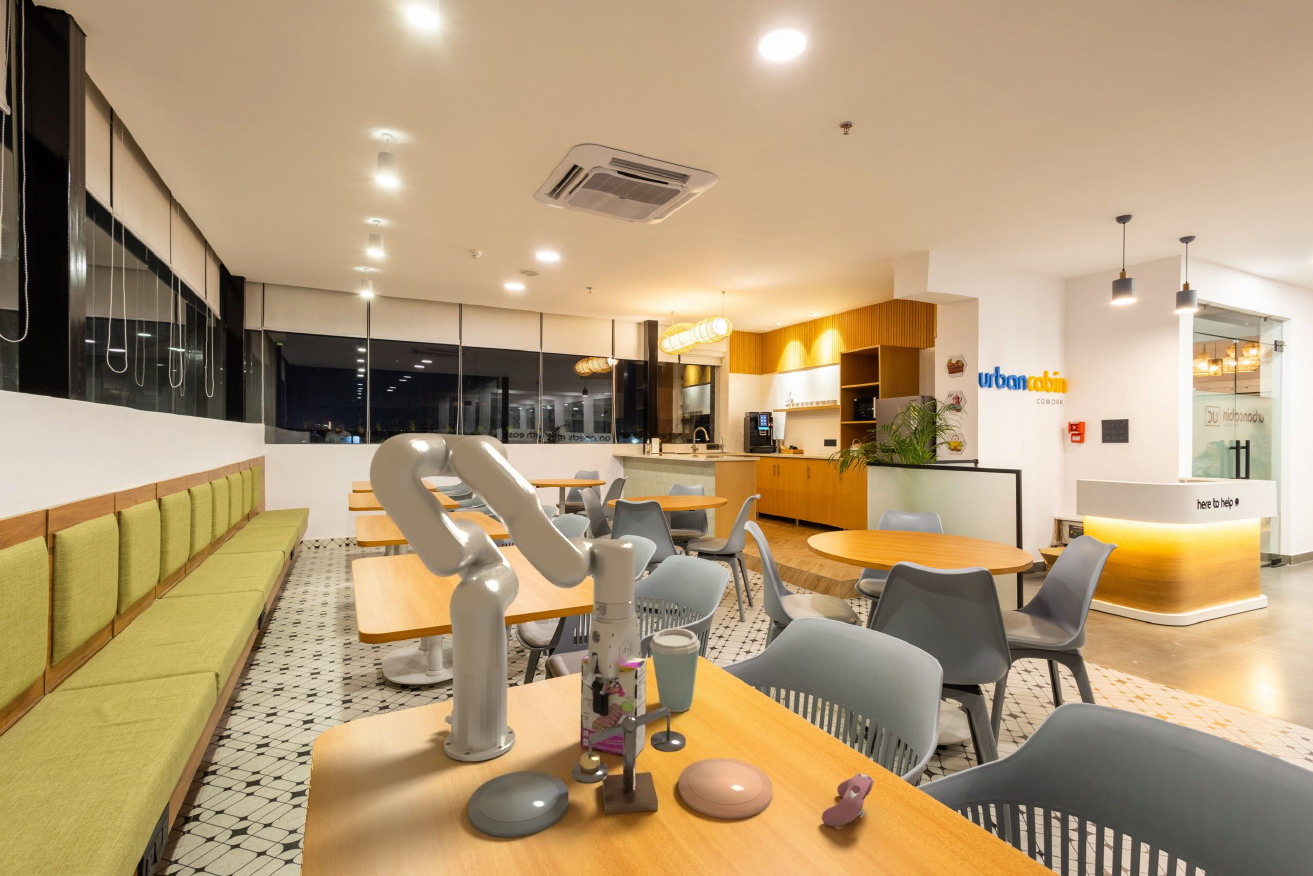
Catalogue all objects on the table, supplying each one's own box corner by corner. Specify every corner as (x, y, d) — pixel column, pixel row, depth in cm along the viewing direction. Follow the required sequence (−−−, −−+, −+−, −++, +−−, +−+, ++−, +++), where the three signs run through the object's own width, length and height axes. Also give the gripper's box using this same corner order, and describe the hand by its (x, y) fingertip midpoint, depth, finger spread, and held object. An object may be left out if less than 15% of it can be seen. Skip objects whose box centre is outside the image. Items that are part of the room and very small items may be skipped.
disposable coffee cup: (701, 718, 125) (702, 644, 125) (648, 717, 125) (648, 643, 125) (698, 695, 136) (699, 627, 135) (649, 695, 136) (650, 626, 136)
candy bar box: (578, 749, 112) (579, 658, 112) (590, 736, 117) (591, 649, 117) (636, 760, 109) (637, 667, 109) (646, 746, 113) (647, 657, 113)
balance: (571, 817, 92) (572, 724, 92) (571, 787, 100) (572, 701, 100) (689, 808, 95) (690, 717, 95) (680, 779, 103) (681, 695, 103)
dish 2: (660, 794, 98) (660, 786, 98) (709, 755, 110) (710, 748, 110) (743, 832, 89) (743, 823, 89) (788, 785, 101) (788, 777, 101)
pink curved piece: (845, 845, 89) (868, 809, 87) (817, 821, 91) (839, 786, 90) (862, 810, 98) (883, 776, 96) (836, 789, 100) (856, 756, 98)
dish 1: (447, 811, 94) (447, 802, 94) (523, 768, 106) (523, 760, 106) (513, 852, 85) (513, 842, 85) (588, 800, 97) (588, 792, 97)
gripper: (597, 624, 103) (596, 731, 104) (658, 602, 117) (657, 696, 117) (565, 616, 108) (564, 718, 108) (628, 595, 122) (627, 686, 122)
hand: (613, 706), depth 113 cm, fingers closed on candy bar box, 6 cm apart
